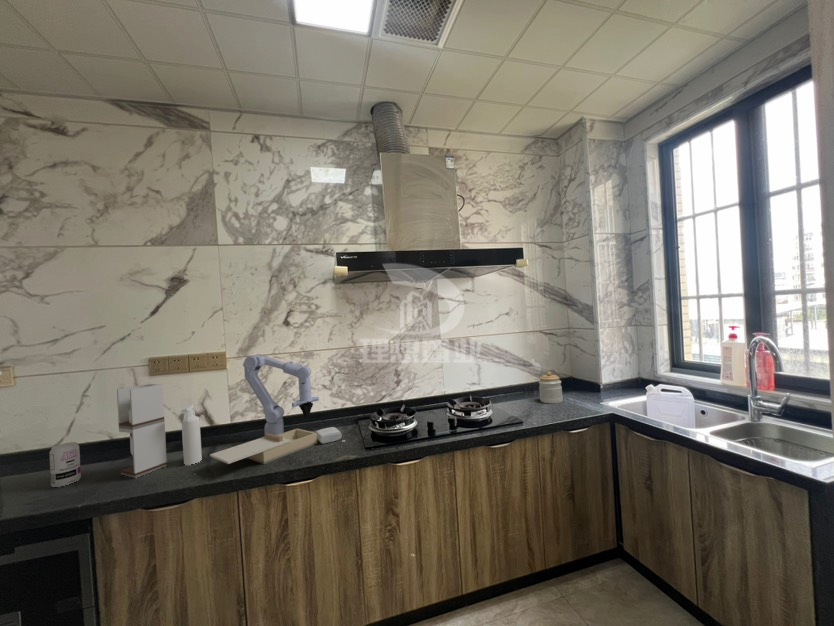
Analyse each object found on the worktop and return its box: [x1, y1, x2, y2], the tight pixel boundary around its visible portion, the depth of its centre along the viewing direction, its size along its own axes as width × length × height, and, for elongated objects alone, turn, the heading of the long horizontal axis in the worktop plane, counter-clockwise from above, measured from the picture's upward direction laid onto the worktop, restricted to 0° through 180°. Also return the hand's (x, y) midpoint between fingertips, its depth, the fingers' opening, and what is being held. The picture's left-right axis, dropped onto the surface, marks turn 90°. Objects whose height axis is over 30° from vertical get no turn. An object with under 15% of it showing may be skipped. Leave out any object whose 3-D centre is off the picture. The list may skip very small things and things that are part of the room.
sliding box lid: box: [209, 433, 290, 465], centre depth 145 cm, size 16×26×3 cm, turn 143°
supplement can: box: [48, 441, 82, 488], centre depth 136 cm, size 8×8×15 cm
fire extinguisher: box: [181, 403, 203, 466], centre depth 150 cm, size 7×12×25 cm, turn 13°
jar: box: [538, 371, 564, 404], centre depth 207 cm, size 13×13×18 cm
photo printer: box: [315, 426, 343, 444], centre depth 167 cm, size 10×4×12 cm
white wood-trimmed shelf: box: [116, 383, 168, 479], centre depth 144 cm, size 11×11×35 cm
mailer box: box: [245, 428, 318, 465], centre depth 156 cm, size 16×26×5 cm, turn 143°
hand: (306, 418), depth 173 cm, fingers closed
